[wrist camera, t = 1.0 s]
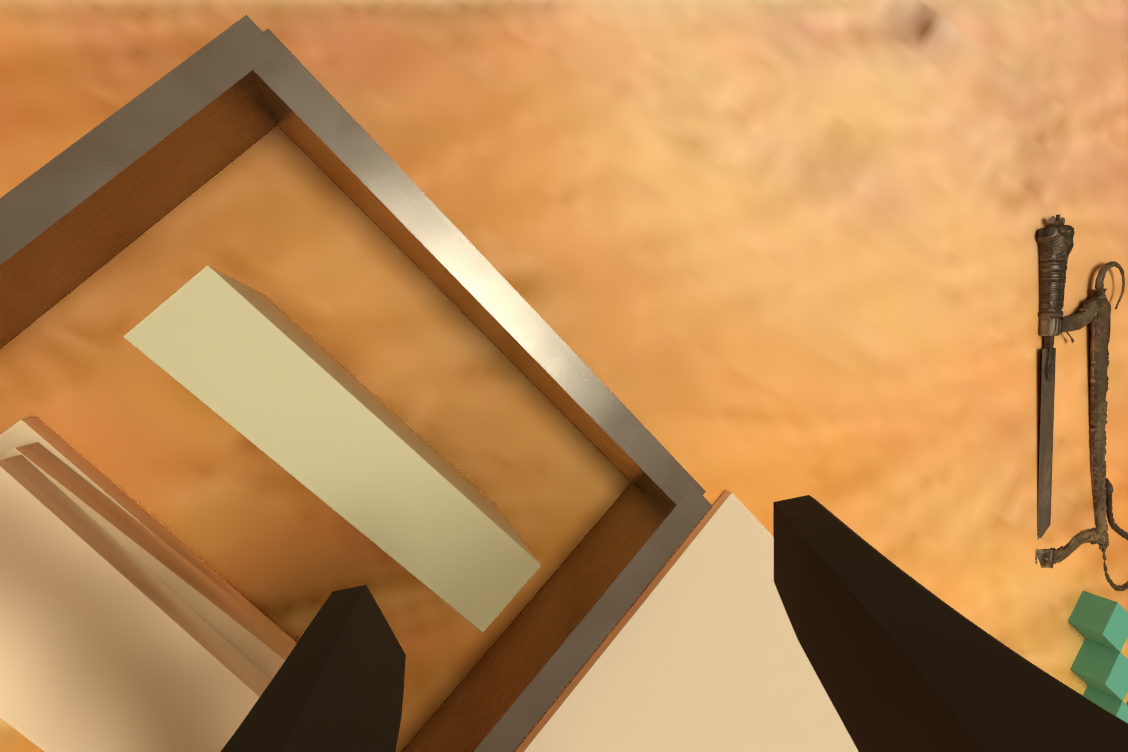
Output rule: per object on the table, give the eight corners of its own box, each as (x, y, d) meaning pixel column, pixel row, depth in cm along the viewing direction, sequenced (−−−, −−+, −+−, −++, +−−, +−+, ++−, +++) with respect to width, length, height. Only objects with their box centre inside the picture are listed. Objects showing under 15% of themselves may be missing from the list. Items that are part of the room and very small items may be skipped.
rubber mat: (770, 981, 28) (776, 991, 28) (494, 776, 23) (496, 785, 23) (937, 717, 31) (946, 723, 31) (725, 489, 26) (732, 492, 26)
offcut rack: (373, 827, 22) (372, 925, 18) (-199, 450, 16) (-374, 477, 13) (665, 480, 25) (715, 501, 22) (276, 77, 20) (251, 11, 16)
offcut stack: (269, 815, 21) (248, 904, 18) (-110, 528, 17) (-231, 570, 14) (385, 700, 22) (386, 761, 19) (53, 408, 19) (-21, 419, 15)
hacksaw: (1027, 217, 33) (1057, 210, 32) (1136, 223, 36) (1167, 217, 35) (1028, 611, 34) (1057, 622, 33) (1134, 583, 37) (1164, 592, 36)
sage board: (453, 551, 23) (482, 632, 16) (210, 343, 20) (123, 336, 13) (495, 505, 23) (541, 565, 16) (264, 295, 20) (207, 265, 14)
